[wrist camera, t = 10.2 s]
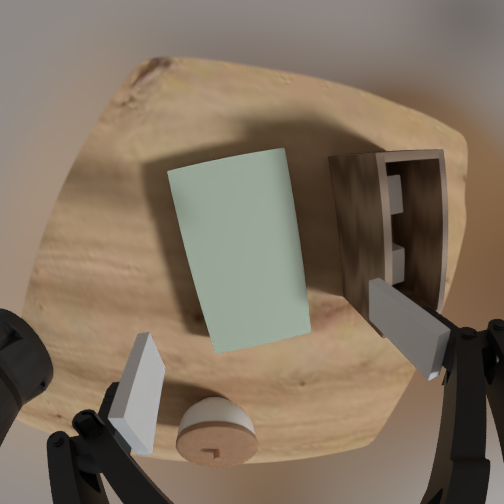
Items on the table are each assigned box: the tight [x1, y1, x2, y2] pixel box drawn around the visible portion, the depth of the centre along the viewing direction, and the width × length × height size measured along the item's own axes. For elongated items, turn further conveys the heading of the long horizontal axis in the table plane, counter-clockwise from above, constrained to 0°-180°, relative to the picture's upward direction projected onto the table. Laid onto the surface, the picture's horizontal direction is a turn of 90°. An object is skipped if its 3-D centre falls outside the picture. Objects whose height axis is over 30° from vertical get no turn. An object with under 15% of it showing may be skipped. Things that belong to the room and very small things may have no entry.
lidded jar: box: [176, 397, 258, 467], centre depth 32 cm, size 11×11×9 cm
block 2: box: [392, 242, 405, 285], centre depth 30 cm, size 4×4×4 cm
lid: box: [167, 148, 311, 354], centre depth 29 cm, size 20×11×4 cm, turn 10°
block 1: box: [387, 174, 403, 215], centre depth 28 cm, size 4×4×4 cm
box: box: [328, 149, 448, 338], centre depth 27 cm, size 17×8×10 cm, turn 10°
